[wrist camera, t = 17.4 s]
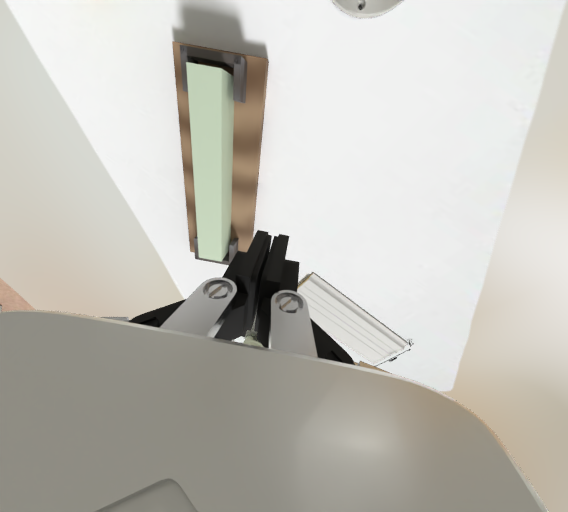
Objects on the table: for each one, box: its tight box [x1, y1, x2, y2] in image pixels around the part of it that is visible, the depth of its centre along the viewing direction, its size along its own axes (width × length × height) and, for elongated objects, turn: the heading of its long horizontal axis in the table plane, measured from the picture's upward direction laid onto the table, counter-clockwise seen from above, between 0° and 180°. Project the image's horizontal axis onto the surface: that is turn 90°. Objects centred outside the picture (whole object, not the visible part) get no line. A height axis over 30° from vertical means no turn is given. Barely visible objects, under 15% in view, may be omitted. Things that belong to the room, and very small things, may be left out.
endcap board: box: [172, 41, 269, 265], centre depth 34 cm, size 31×12×4 cm, turn 171°
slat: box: [186, 62, 234, 262], centre depth 33 cm, size 26×4×5 cm, turn 171°
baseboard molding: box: [297, 273, 413, 367], centre depth 50 cm, size 31×3×12 cm
